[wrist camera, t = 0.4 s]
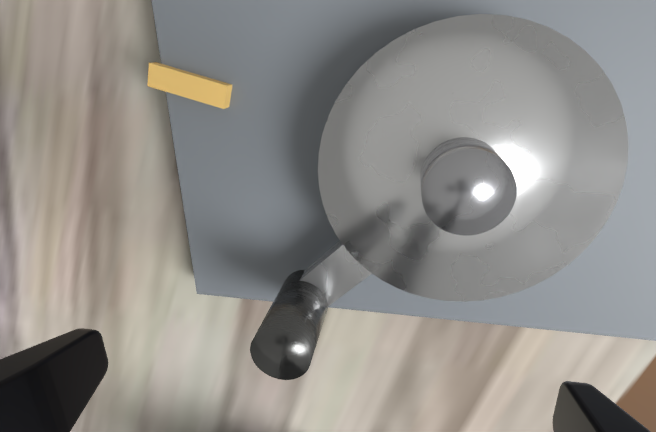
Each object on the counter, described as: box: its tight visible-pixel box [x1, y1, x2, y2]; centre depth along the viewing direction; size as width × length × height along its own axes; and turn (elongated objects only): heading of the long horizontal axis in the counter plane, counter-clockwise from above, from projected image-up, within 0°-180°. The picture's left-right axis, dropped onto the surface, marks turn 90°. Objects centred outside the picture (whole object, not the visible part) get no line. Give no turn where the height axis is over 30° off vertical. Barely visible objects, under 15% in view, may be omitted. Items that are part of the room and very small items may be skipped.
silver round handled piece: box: [250, 14, 628, 380], centre depth 15 cm, size 16×11×6 cm
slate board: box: [148, 0, 656, 341], centre depth 18 cm, size 16×26×2 cm, turn 91°
